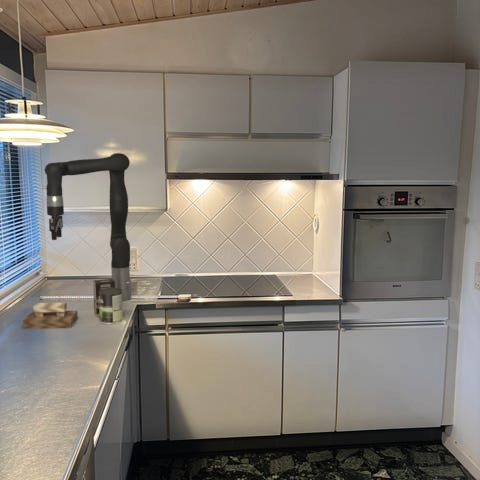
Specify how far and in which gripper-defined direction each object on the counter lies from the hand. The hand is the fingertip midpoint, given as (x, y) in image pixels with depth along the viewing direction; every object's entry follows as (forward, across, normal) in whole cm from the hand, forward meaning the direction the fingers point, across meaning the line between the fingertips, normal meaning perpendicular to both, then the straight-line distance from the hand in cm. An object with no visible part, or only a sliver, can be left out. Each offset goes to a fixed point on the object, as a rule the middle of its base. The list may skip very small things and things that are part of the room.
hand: (56, 238), depth 233 cm
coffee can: (+34, -24, -29) cm, 51 cm away
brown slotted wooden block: (+34, -26, -3) cm, 43 cm away
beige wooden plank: (+33, -26, -3) cm, 42 cm away
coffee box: (+34, -13, -24) cm, 44 cm away
